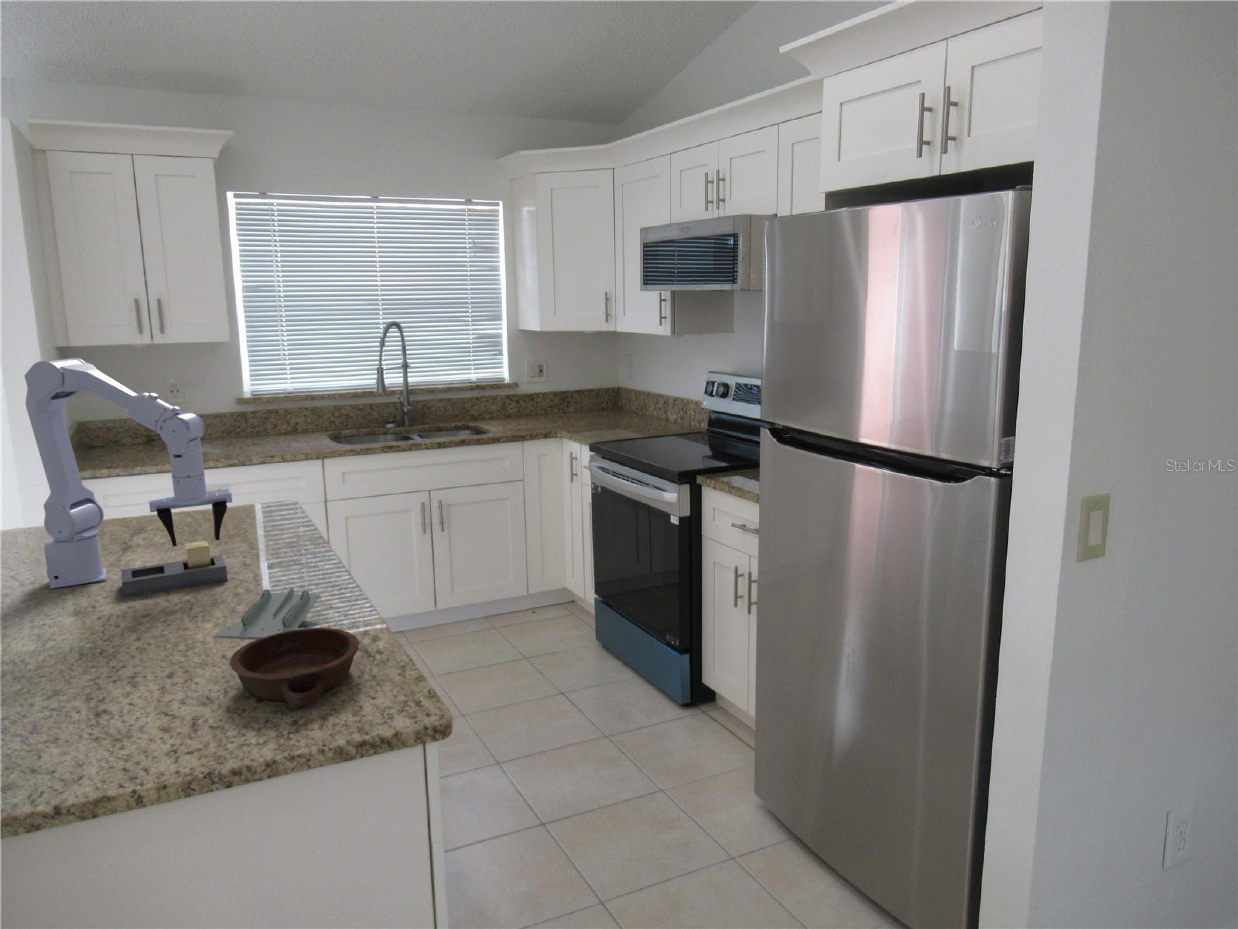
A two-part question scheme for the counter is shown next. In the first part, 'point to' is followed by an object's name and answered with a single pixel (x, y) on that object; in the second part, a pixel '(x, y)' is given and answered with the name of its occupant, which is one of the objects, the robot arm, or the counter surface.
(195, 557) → the brass peg
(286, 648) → the dish
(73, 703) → the counter surface
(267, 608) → the metal bracket
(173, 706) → the counter surface
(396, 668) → the counter surface
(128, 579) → the grey slotted block
